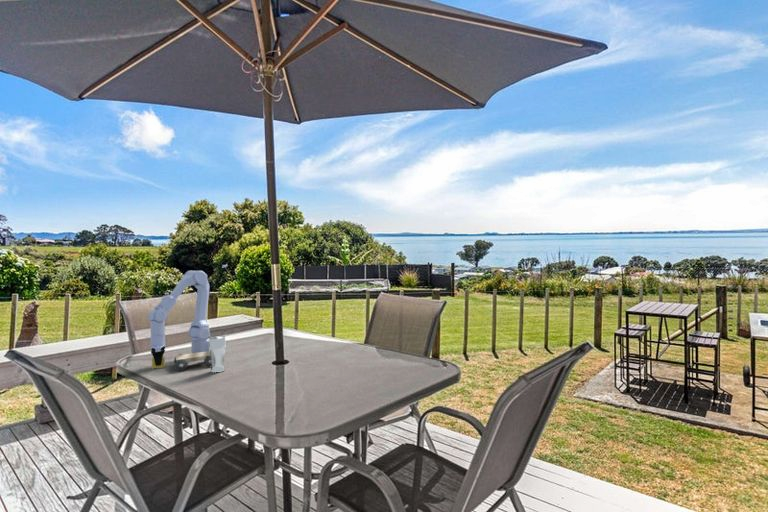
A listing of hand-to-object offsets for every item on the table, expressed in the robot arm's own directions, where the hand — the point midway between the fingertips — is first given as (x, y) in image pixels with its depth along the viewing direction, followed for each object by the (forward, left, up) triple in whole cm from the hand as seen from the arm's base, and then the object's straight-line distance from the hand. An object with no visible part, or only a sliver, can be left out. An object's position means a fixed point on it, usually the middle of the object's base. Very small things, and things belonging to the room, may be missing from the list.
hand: (158, 364), depth 181 cm
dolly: (-15, +7, -1) cm, 17 cm away
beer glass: (-23, +22, -2) cm, 32 cm away
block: (0, 0, -1) cm, 1 cm away
